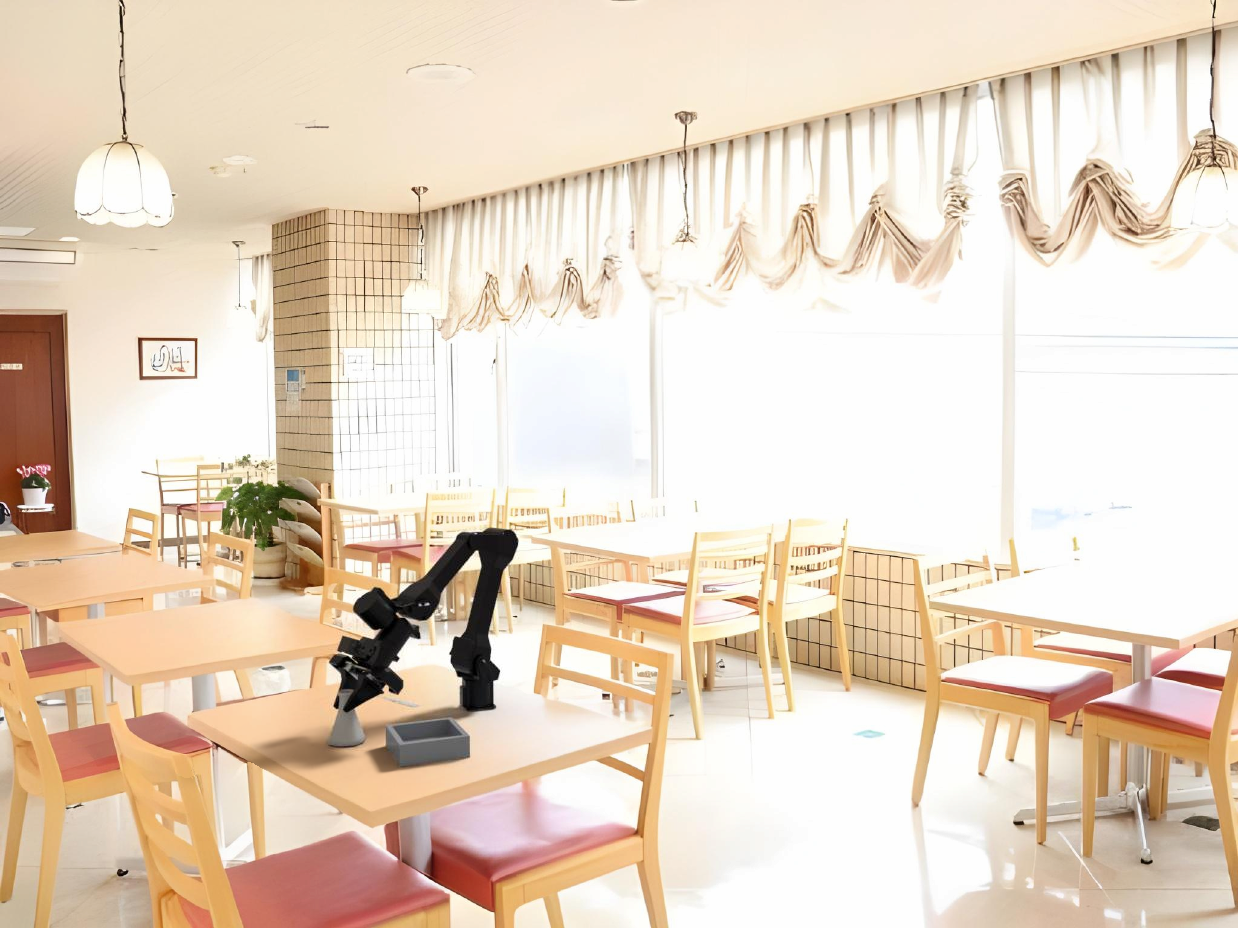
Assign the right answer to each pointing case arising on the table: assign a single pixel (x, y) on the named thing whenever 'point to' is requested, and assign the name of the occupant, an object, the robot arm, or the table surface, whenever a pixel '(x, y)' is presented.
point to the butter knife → (402, 702)
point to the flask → (346, 724)
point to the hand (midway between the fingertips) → (339, 709)
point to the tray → (427, 741)
